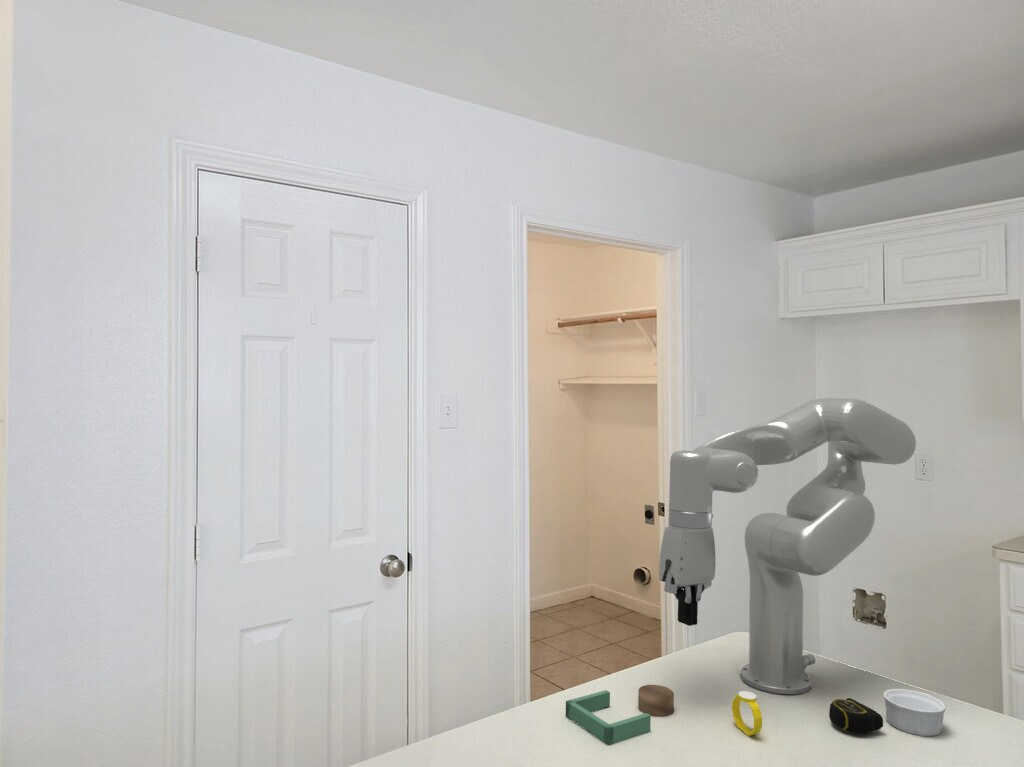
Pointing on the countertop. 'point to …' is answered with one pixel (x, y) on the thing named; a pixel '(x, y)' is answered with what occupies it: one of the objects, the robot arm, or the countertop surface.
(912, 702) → the ramekin
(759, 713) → the watch
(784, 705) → the countertop surface
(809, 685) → the robot arm
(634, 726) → the green u-shaped frame
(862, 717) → the tape measure
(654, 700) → the puck
